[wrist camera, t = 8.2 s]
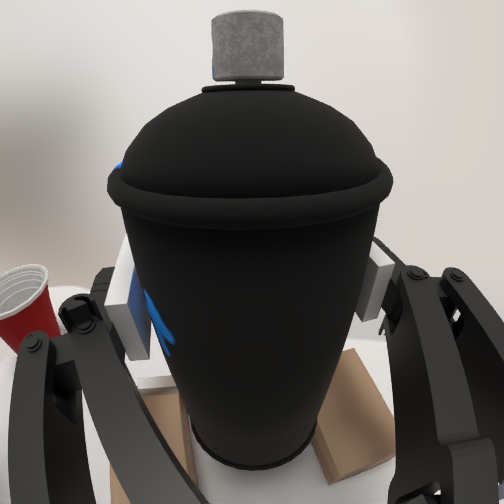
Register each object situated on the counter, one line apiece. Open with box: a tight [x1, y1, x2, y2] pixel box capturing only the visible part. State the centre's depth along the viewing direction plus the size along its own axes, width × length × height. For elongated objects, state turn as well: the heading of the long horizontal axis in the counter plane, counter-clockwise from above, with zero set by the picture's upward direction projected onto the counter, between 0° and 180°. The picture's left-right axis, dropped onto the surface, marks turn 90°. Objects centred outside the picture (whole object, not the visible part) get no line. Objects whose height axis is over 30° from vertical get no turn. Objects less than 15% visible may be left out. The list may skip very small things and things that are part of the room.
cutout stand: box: [110, 348, 396, 504], centre depth 21 cm, size 24×12×5 cm, turn 102°
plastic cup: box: [0, 264, 61, 355], centre depth 26 cm, size 11×11×12 cm
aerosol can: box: [107, 10, 393, 471], centre depth 11 cm, size 8×8×20 cm
